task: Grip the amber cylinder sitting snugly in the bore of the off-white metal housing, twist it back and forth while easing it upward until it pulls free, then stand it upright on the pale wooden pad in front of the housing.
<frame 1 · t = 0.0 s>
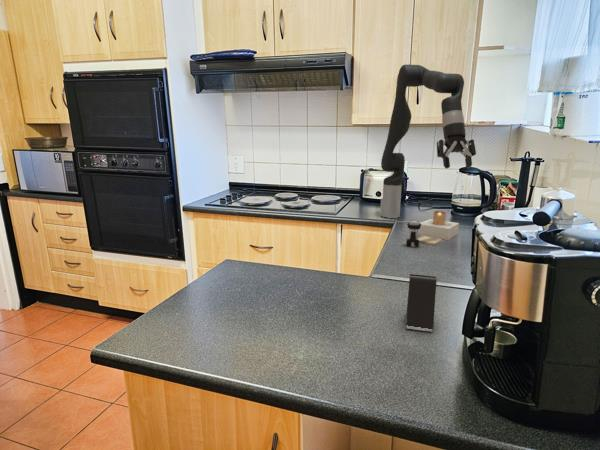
hand: (458, 167, 143), 31 cm above the worktop, tool tilted 20°, fingers open, 8 cm apart
amber cylinder: (438, 223, 170), in the housing
black stand: (410, 246, 155), on the worktop
pad: (428, 241, 161), on the worktop
housing: (437, 234, 171), on the worktop
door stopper: (418, 323, 94), on the worktop
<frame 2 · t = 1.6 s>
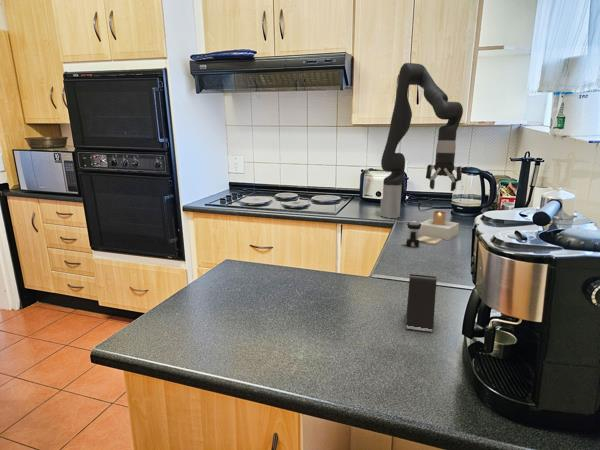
hand: (442, 189, 166), 20 cm above the worktop, tool pointing down, fingers open, 8 cm apart
nothing on the worktop moved.
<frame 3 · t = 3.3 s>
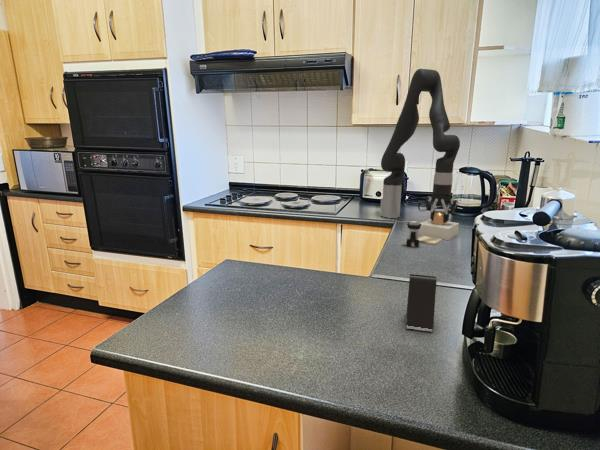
hand: (439, 221, 170), 6 cm above the worktop, tool pointing down, fingers closed on amber cylinder, 5 cm apart
amber cylinder: (438, 223, 170), in the housing, touching gripper
everything else where it was.
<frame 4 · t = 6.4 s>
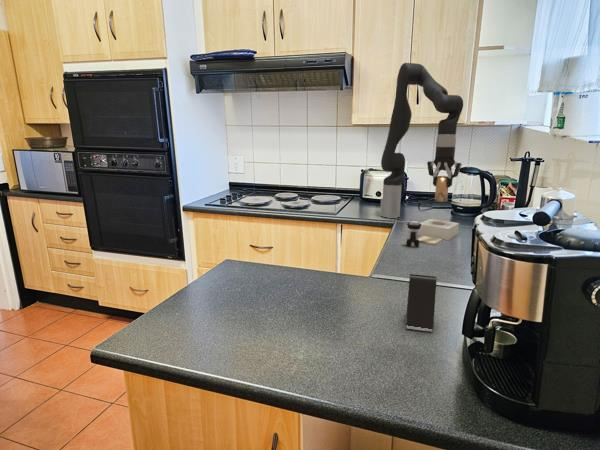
hand: (442, 186, 164), 22 cm above the worktop, tool pointing down, fingers closed on amber cylinder, 5 cm apart
amber cylinder: (441, 188, 165), point 21 cm above the worktop, touching gripper
everything else where it was.
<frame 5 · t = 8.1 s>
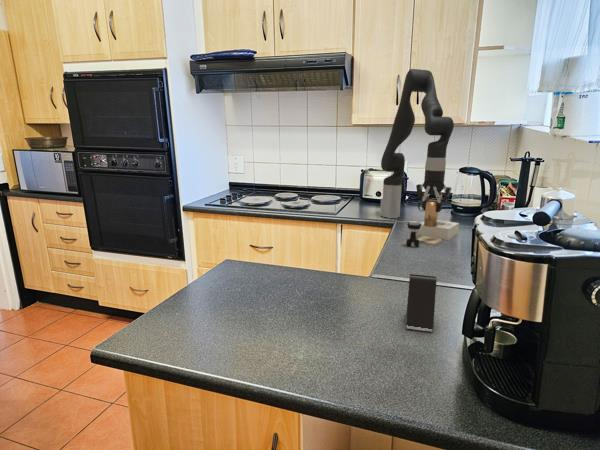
hand: (431, 210, 158), 13 cm above the worktop, tool pointing down, fingers closed on amber cylinder, 5 cm apart
amber cylinder: (431, 213, 158), point 12 cm above the worktop, touching gripper
everything else where it was.
when the fingers open (8 cm above the worktop, at t = 9.6 s): amber cylinder stays where it is, resting on pad.
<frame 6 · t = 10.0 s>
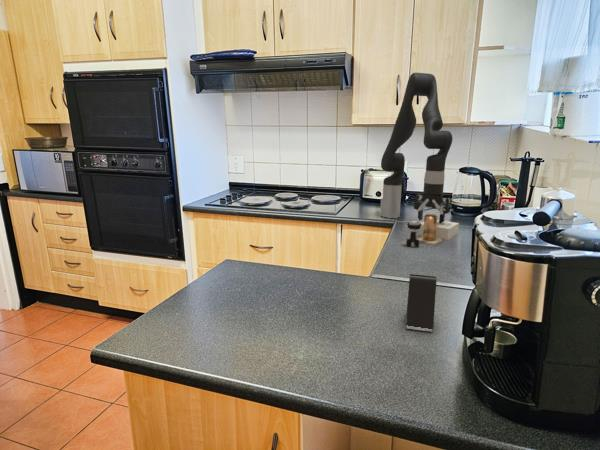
hand: (430, 221, 159), 8 cm above the worktop, tool pointing down, fingers open, 8 cm apart
amber cylinder: (430, 227, 160), on the pad, point 6 cm above the worktop
everything else where it was.
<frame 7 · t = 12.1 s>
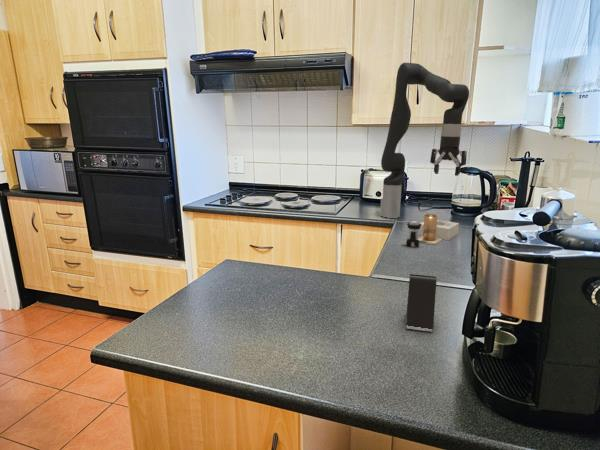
hand: (446, 174, 164), 26 cm above the worktop, tool pointing down, fingers open, 8 cm apart
nothing on the worktop moved.
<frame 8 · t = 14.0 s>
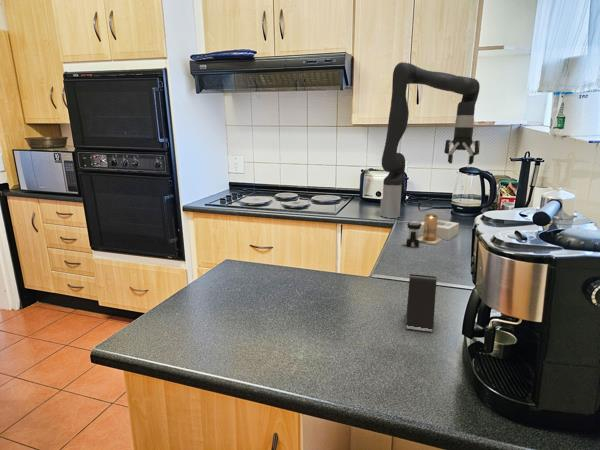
hand: (460, 163, 173), 30 cm above the worktop, tool pointing down, fingers open, 8 cm apart
nothing on the worktop moved.
at the end: amber cylinder 0.1 cm off-centre on the pad, point 6.0 cm above the pad's base; amber cylinder tilted 1°; the gripper is holding nothing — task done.
